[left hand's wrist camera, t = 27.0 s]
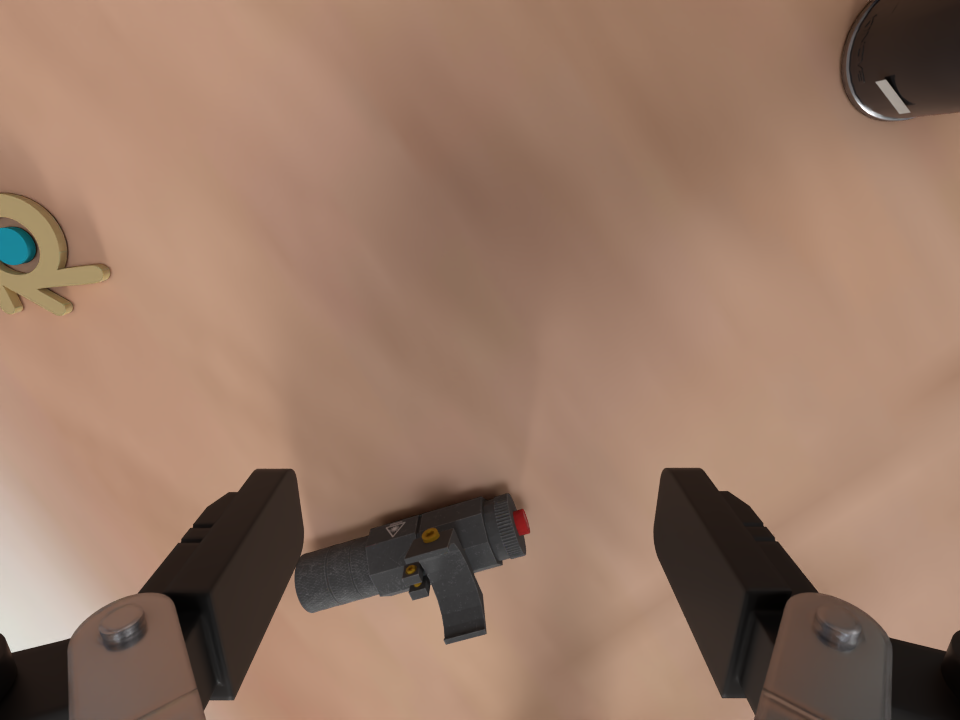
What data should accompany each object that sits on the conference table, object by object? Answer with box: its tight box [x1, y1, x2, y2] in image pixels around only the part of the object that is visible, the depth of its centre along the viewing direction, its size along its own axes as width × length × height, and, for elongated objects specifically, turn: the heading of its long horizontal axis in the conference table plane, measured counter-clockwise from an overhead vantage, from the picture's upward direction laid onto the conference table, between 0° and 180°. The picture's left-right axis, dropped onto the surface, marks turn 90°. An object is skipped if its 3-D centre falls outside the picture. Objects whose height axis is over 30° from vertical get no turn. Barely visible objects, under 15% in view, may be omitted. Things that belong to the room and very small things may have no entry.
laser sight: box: [295, 493, 530, 644], centre depth 49 cm, size 10×22×10 cm, turn 109°
